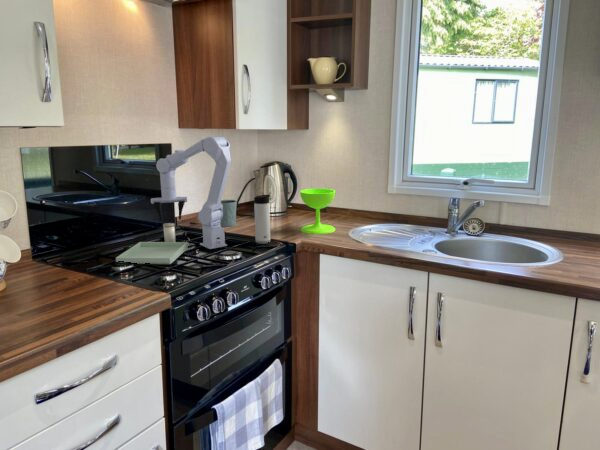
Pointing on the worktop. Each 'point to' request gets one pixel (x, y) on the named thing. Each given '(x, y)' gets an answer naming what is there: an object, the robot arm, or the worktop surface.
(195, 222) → the worktop surface
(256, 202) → the travel mug
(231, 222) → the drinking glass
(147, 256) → the tray
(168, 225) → the spice pot
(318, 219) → the wineglass
